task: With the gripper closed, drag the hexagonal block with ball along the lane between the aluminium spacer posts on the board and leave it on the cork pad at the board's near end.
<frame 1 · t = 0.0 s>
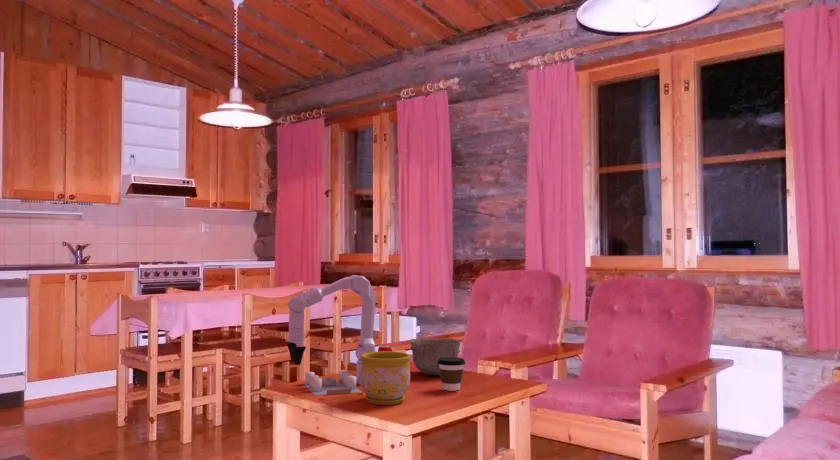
hand: (295, 363, 255), 10 cm above the table, fingers open, 7 cm apart
bowl: (434, 375, 289), on the table
flowerpot: (385, 401, 237), on the table
spacer board: (331, 390, 254), on the table
beverage can: (384, 374, 290), on the table
hexagonal block with ball: (328, 385, 259), point 1 cm above the table, touching spacer board
coffee cup: (451, 390, 257), on the table
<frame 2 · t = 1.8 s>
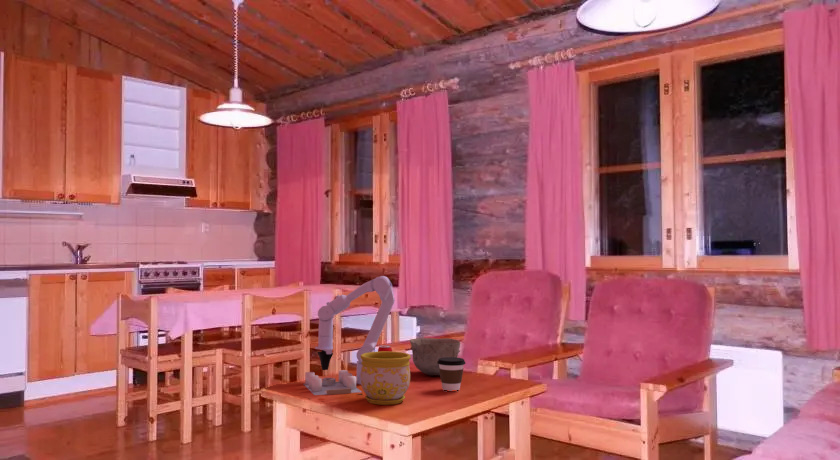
hand: (324, 369, 265), 6 cm above the table, fingers closed
nothing on the table moved.
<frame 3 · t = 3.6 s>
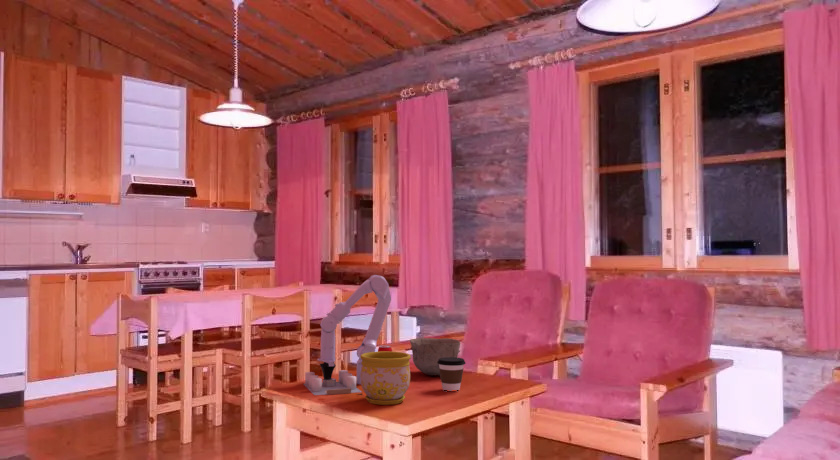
hand: (327, 381, 261), 2 cm above the table, fingers closed
hexagonal block with ball: (329, 385, 258), point 1 cm above the table, touching gripper, spacer board
everything else where it was.
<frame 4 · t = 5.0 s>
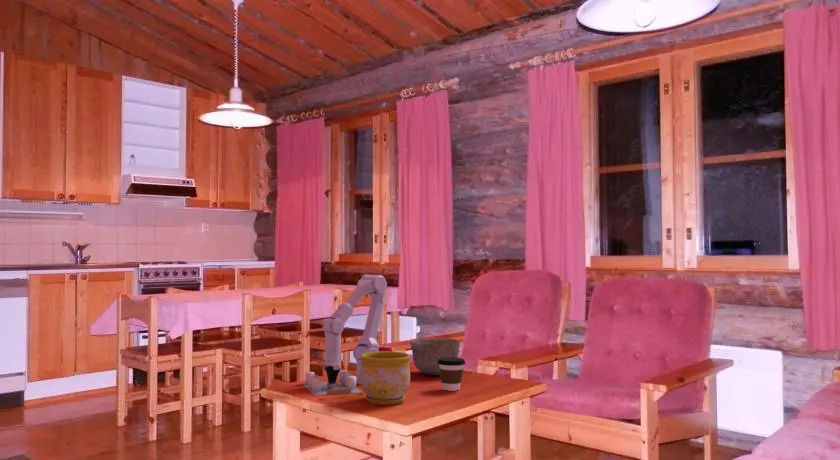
hand: (332, 385, 254), 2 cm above the table, fingers closed
hexagonal block with ball: (334, 389, 250), point 1 cm above the table, touching gripper, spacer board
everything else where it was.
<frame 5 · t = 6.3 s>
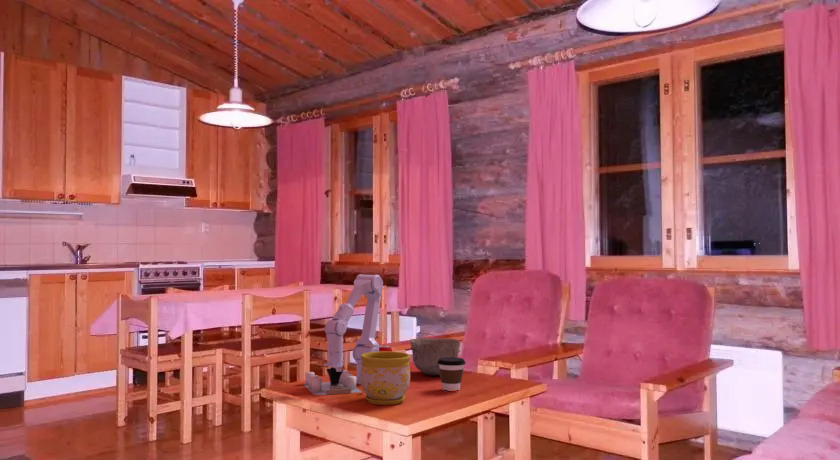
hand: (334, 387, 250), 2 cm above the table, fingers closed
hexagonal block with ball: (336, 391, 247), point 1 cm above the table, touching gripper, spacer board
everything else where it was.
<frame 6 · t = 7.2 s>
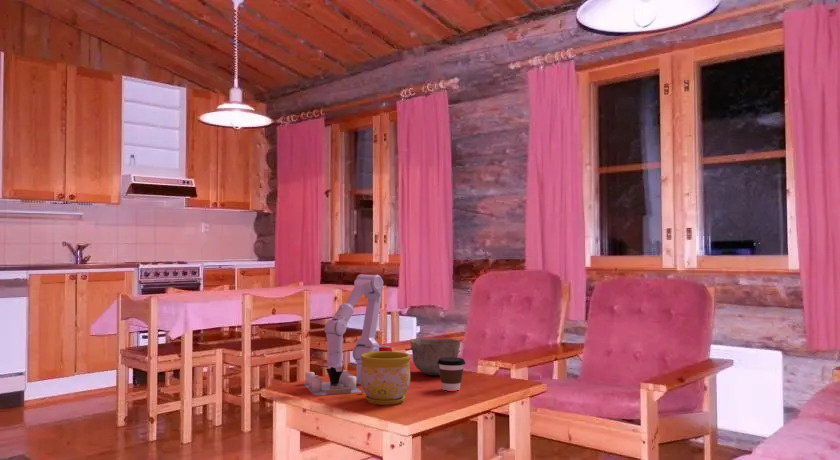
hand: (334, 387, 250), 2 cm above the table, fingers closed
hexagonal block with ball: (336, 391, 247), point 1 cm above the table, touching spacer board
everything else where it was.
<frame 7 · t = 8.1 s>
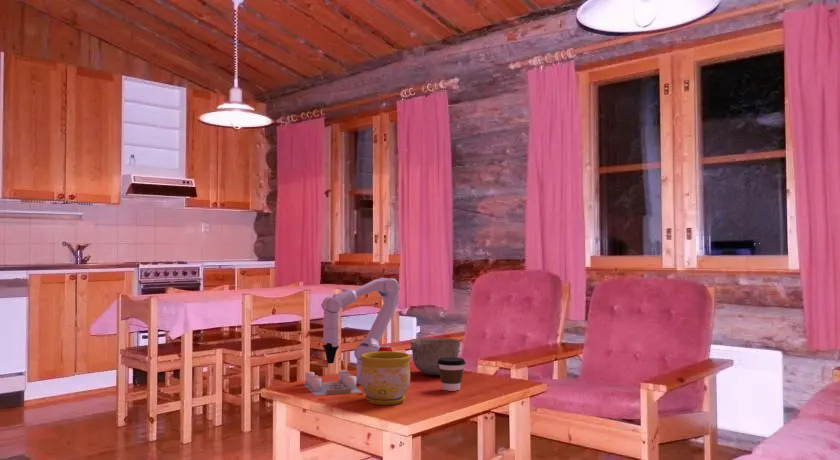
hand: (330, 363, 257), 10 cm above the table, fingers closed
nothing on the table moved.
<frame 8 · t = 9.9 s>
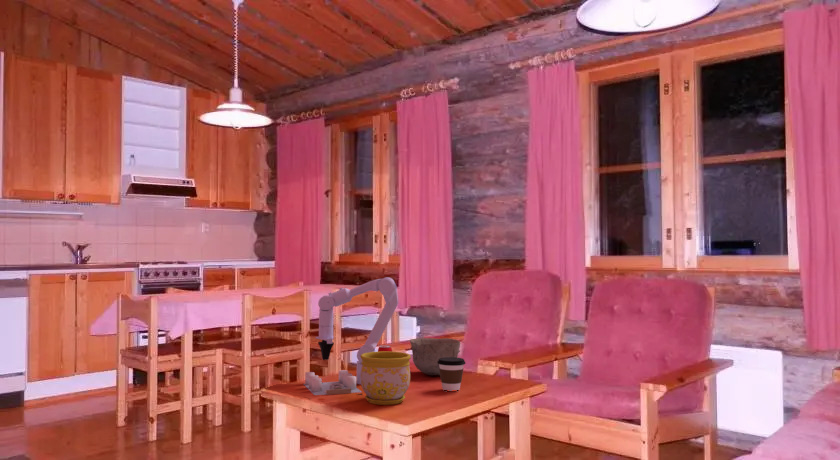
hand: (325, 359, 265), 10 cm above the table, fingers closed
nothing on the table moved.
at the end: hexagonal block with ball inside the target area (0.3 cm from its centre), point 1.0 cm above the table; hexagonal block with ball moved 12.9 cm from its start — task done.
